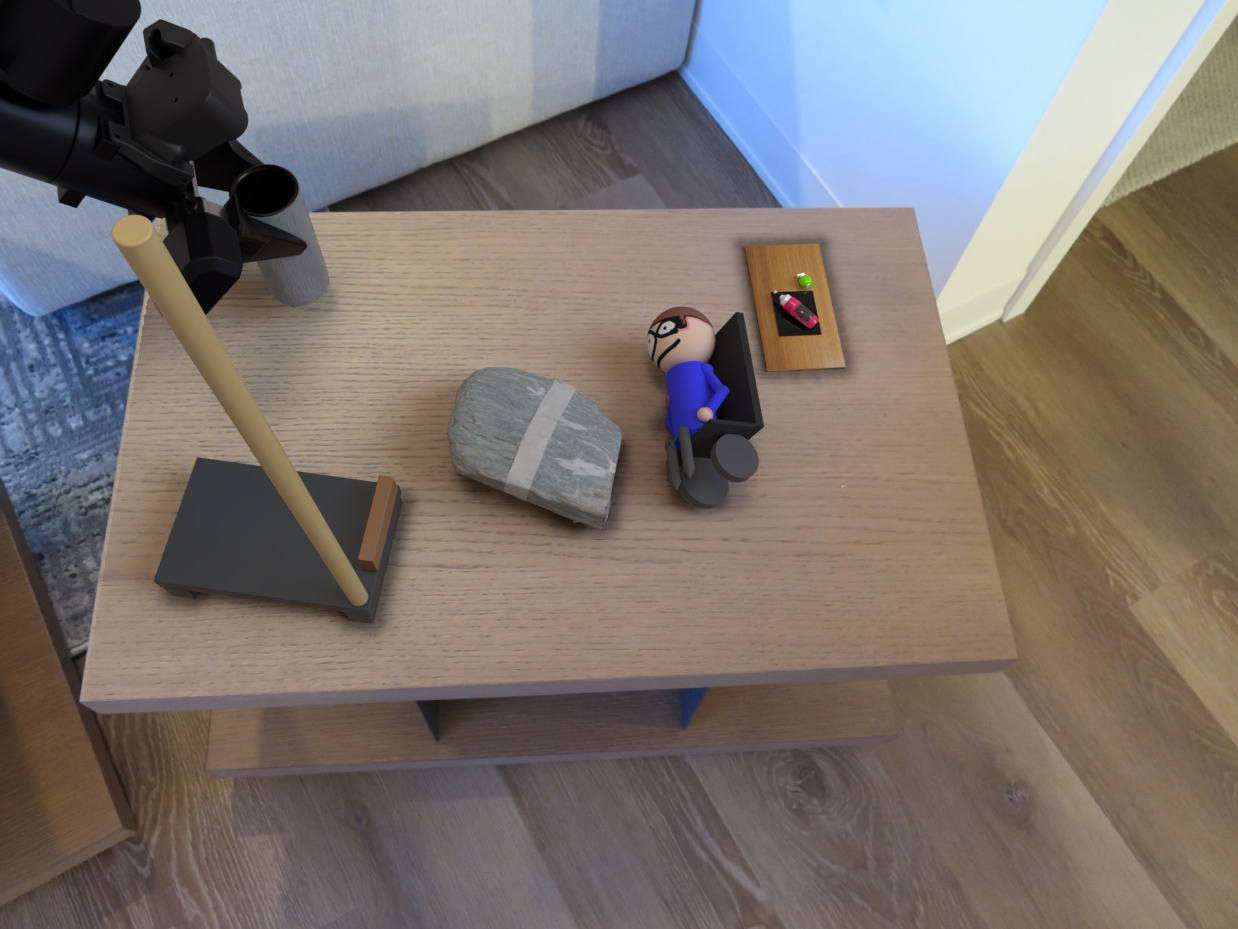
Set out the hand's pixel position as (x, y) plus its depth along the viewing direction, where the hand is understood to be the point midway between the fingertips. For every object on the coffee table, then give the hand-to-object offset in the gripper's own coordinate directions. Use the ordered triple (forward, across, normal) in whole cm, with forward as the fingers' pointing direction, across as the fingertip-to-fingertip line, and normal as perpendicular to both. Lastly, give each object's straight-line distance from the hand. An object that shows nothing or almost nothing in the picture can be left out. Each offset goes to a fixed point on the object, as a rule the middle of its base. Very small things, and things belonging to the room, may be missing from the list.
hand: (297, 222), depth 67 cm
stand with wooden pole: (+2, -20, +11) cm, 23 cm away
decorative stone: (+15, -18, -2) cm, 24 cm away
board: (+32, -11, -19) cm, 38 cm away
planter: (+4, 0, +6) cm, 7 cm away
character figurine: (+24, -18, -11) cm, 32 cm away
